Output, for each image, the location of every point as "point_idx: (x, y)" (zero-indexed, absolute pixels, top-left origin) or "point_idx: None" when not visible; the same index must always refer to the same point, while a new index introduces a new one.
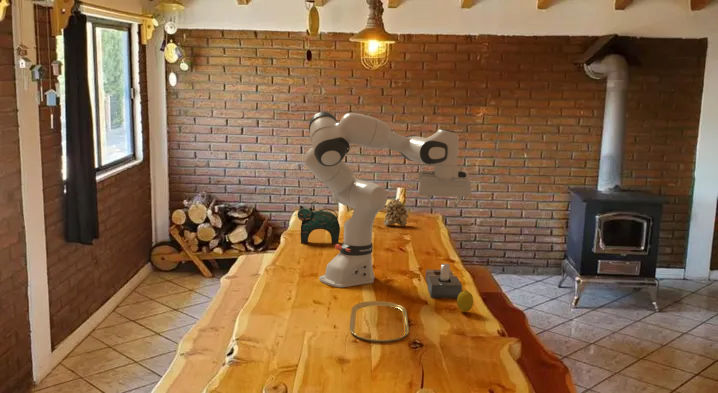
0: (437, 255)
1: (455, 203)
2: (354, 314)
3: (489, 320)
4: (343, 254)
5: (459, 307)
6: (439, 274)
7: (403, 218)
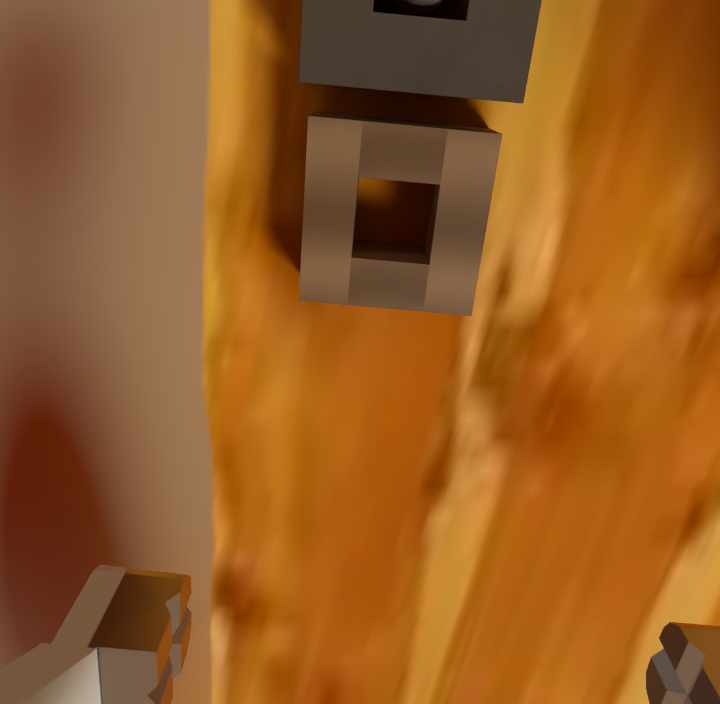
0: (286, 672)
1: (125, 660)
2: None
3: None
4: None
5: None
6: (387, 255)
7: None
